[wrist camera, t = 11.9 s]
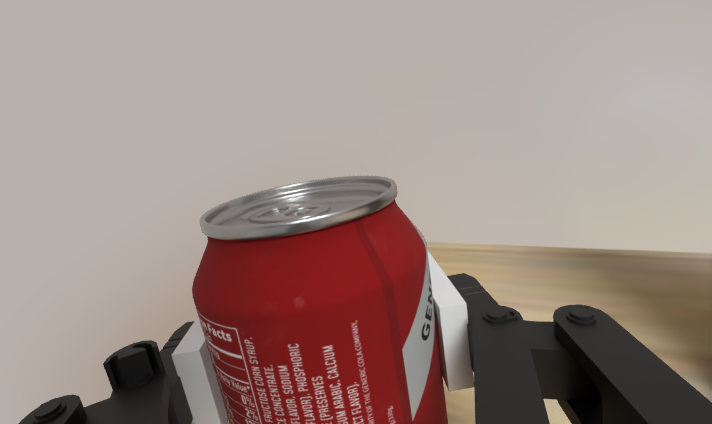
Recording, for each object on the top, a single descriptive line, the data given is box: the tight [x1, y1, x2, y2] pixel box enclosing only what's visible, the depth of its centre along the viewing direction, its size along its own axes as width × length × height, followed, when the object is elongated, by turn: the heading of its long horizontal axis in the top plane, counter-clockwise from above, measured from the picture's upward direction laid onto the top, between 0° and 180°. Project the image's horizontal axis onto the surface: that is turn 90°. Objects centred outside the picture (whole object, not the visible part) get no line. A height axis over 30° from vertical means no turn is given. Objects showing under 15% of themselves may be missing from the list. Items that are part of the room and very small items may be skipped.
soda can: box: [192, 176, 448, 424], centre depth 12 cm, size 7×7×12 cm
